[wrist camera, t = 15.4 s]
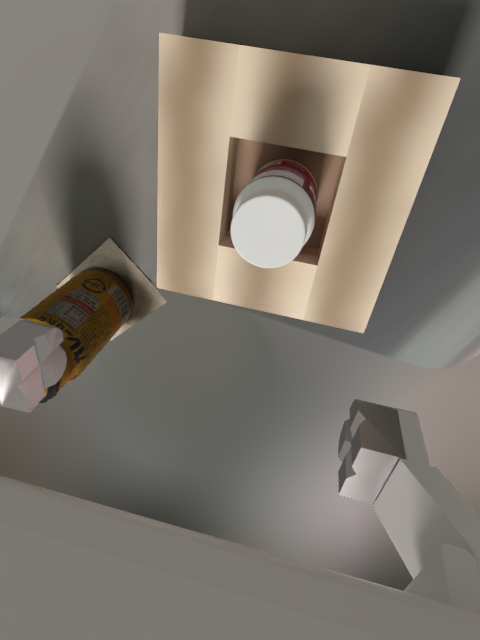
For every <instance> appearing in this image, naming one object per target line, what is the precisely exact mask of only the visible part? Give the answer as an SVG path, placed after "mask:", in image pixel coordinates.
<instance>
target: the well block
mask: <svg viewBox="0 0 480 640" xmlns="http://www.w3.org/2000/svg"><path fill="white" fill-rule="evenodd" d="M460 79H461V78H456V77H449V76H442V75H436V74H429V73H423V72H416V71H409V70H403V69H396V68H389V67H383V66H376V65H370V64H363V63H356V62H350V61H343V60H336V59H330V58H323V57H317V56H310V55H303V54H297V53H290V52H283V51H277V50H270V49H264V48H257V47H250V46H244V45H237V44H230V43H224V42H217V41H211V40H204V39H197V38H191V37H184V36H178V35H171V34H164V33H159V108H158V219H157V288H161V289H165V290H169V291H174V292H179V293H183V294H188V295H192V296H197V297H201V298H206V299H210V300H215V301H219V302H224V303H228V304H233V305H237V306H242V307H247V308H251V309H256V310H260V311H265V312H269V313H274V314H278V315H283V316H287V317H292V318H296V319H301V320H306V321H310V322H315V323H319V324H324V325H328V326H333V327H337V328H342V329H346V330H351V331H356V332H360V333H364V331H365V328H366V326H367V323H368V320H369V318H370V315H371V312H372V310H373V307H374V305H375V302H376V299H377V297H378V294H379V291H380V289H381V286H382V284H383V281H384V278H385V276H386V273H387V270H388V268H389V265H390V263H391V260H392V257H393V255H394V252H395V249H396V247H397V244H398V242H399V239H400V236H401V234H402V231H403V228H404V226H405V223H406V221H407V218H408V215H409V213H410V210H411V208H412V205H413V202H414V200H415V197H416V194H417V192H418V189H419V187H420V184H421V181H422V179H423V176H424V173H425V171H426V168H427V166H428V163H429V160H430V158H431V155H432V152H433V150H434V147H435V145H436V142H437V139H438V137H439V134H440V131H441V129H442V126H443V124H444V121H445V118H446V116H447V113H448V110H449V108H450V105H451V103H452V100H453V97H454V95H455V92H456V89H457V87H458V84H459V82H460ZM279 159H289V160H293V161H296V162H298V163H300V164H302V165H303V166H305V167H306V168H307V169H308V170H309V171H310V172H311V174H312V175H313V177H314V179H315V182H316V185H317V206H316V214H315V215H316V216H315V225H314V228H313V231H312V234H311V236H310V238H309V239H308V241H307V242H306V243H305V245H304V246H303V247H302V249H301V251H300V252H299V254H298V255H297V256H296V257H295V258H294V259H293V260H292V261H291V262H289V263H287V264H285V265H283V266H280V267H277V268H262V267H258V266H255V265H253V264H251V263H249V262H247V261H246V260H245V259H243V258H242V257H241V256H240V255H239V253H238V252H237V251H236V249H235V247H234V245H233V242H232V239H231V233H230V231H231V222H232V218H233V209H234V205H235V202H236V199H237V197H238V195H239V194H240V192H241V191H242V190H243V189H244V187H245V186H246V185H247V184H248V183H249V181H250V180H251V179H252V178H253V176H254V175H255V174H256V173H257V172H258V171H259V170H260V169H261V168H262V167H263V166H264V165H266V164H268V163H269V162H272V161H275V160H279Z"/></svg>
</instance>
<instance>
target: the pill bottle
mask: <svg viewBox="0 0 480 640" xmlns="http://www.w3.org/2000/svg"><path fill="white" fill-rule="evenodd" d="M316 206H317V185H316V182H315V179H314V177H313V175H312V174H311V172H310V171H309V170H308V169H307V168H306V167H305V166H303V165H302V164H300V163H298V162H296V161H293V160H289V159H279V160H275V161H272V162H269V163H268V164H266V165H264V166H263V167H262V168H261V169H260V170H259V171H258V172H257V173H256V174H255V175H254V176H253V178H252V179H251V180H250V181H249V183H248V184H247V185H246V186H245V187H244V189H243V190H242V191H241V192H240V194H239V195H238V197H237V199H236V202H235V205H234V209H233V218H232V222H231V231H230V233H231V239H232V242H233V245H234V247H235V249H236V251H237V252H238V253H239V255H240V256H241V257H242V258H243V259H245V260H246V261H247V262H249V263H251V264H253V265H255V266H258V267H262V268H277V267H280V266H283V265H285V264H287V263H289V262H291V261H292V260H293V259H294V258H295V257H296V256H297V255H298V254H299V252H300V251H301V249H302V247H303V246H304V245H305V243H306V242H307V241H308V239H309V238H310V236H311V234H312V231H313V228H314V225H315V216H316V215H315V214H316Z"/></svg>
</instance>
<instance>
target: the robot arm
mask: <svg viewBox="0 0 480 640" xmlns="http://www.w3.org/2000/svg"><path fill="white" fill-rule="evenodd" d="M63 341H64V339H63V334H62V330H60V329H59V328H57V327H53V326H49V325H46V324H42V323H38V322H34V321H30V320H27V319H21V318H18V317H14V316H10V315H9V316H3V317H2V318H0V406H4V407H8V408H12V409H17V410H21V411H25V412H31V410H32V409H33V408H34V407H35V406H36V405H37V404H38V403H39V402H40V401H41V400H42V398H43V397H44V396H45V388H48V387H50V386H52V385H55V384H56V383H57V382H58V381H59V379H60V378H61V377H62V375H63V373H64V371H65V368H66V363H67V357H66V352H65V351H64V350H63V349H62V347H61V346H60V344H61V343H62V342H63ZM338 457H339V458H340V460H341V461H342V464H341V467H340V469H339V471H338V477H339V478H338V479H339V495H341V496H344V497H348V498H351V499H355V500H358V501H361V502H365V503H368V504H372V505H373V508H374V510H375V511H376V513H377V515H378V517H379V519H380V520H381V522H382V524H383V526H384V527H385V529H386V531H387V533H388V535H389V537H390V538H391V540H392V542H393V544H394V545H395V547H396V549H397V551H398V552H399V554H400V556H401V558H402V559H403V561H404V563H405V565H406V567H407V569H408V570H409V572H410V574H411V576H412V577H413V579H414V580H413V581H412V582H411V583H410V584H409V585H408V587H407V588H406V589H405V590H404V591H401V590H397V589H394V588H390V587H387V586H383V585H380V584H376V583H373V582H369V581H366V580H362V579H359V578H355V577H352V576H348V575H345V574H341V573H338V572H335V571H331V570H328V569H324V568H320V567H317V566H313V565H310V564H307V563H303V562H299V561H296V560H292V559H289V558H286V557H282V556H278V555H275V554H272V553H268V552H265V551H261V550H258V549H254V548H251V547H247V546H244V545H240V544H237V543H233V542H230V541H226V540H222V539H219V538H215V537H212V536H209V535H205V534H202V533H198V532H195V531H191V530H187V529H184V528H180V527H177V526H174V525H170V524H167V523H163V522H159V521H156V520H152V519H149V518H146V517H142V516H139V515H135V514H132V513H128V512H125V511H121V510H118V509H114V508H111V507H107V506H104V505H100V504H97V503H93V502H90V501H86V500H83V499H79V498H76V497H72V496H69V495H65V494H62V493H58V492H55V491H51V490H48V489H44V488H41V487H37V486H34V485H31V484H27V483H23V482H20V481H16V480H13V479H10V478H6V477H3V476H0V640H480V515H479V514H478V513H477V512H476V510H475V509H474V508H473V507H472V506H471V505H470V504H469V503H468V502H467V500H466V499H465V498H464V497H463V496H462V495H461V494H460V493H459V492H458V491H457V490H456V488H455V487H454V486H453V485H452V484H451V483H450V482H449V480H448V479H447V478H446V477H445V476H444V475H443V474H442V473H441V472H440V470H439V469H438V468H436V467H432V466H431V465H430V461H429V457H428V453H427V449H426V445H425V441H424V437H423V434H422V430H421V426H420V422H419V418H418V415H417V414H416V413H415V412H412V411H407V410H403V409H398V408H392V407H388V406H383V405H379V404H375V403H370V402H366V401H362V400H357V399H355V400H354V401H353V403H352V405H351V407H350V419H348V420H346V421H345V422H344V424H343V427H342V430H341V434H340V438H339V447H338Z"/></svg>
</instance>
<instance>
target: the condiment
mask: <svg viewBox="0 0 480 640" xmlns="http://www.w3.org/2000/svg"><path fill="white" fill-rule="evenodd" d="M109 267H110V268H111V269H109ZM113 268H116V269H113ZM56 287H57V288H58V289H57V290H56V291H55V292H54V293H52V294H50V295H49V296H48V297H47V298H45V299H44V300H43V301H42V302H40V303H39V304H38V305H37V306H35V307H34V308H32V309H31V310H30V311H29V312H27V313H26V314H25V315H23V316H21V317H20V318H21V319H27V320H30V321H34V322H38V323H42V324H46V325H49V326H53V327H57V328H59V329H60V330H62V334H63V339H64V341H63V342H62V343H61V344H60V346H61V347H62V349H63V350H64V351H65V352H66V357H67V363H66V368H65V371H64V373H63V375H62V377H61V378H60V379H59V381H58V382H57V383H56V384H55V385H52V386H50V387H48V388H45V396H44V397H43V398H42V400H41V401H40V402H39V403H44V402H46V401H48V400H49V399H52V398H53V397H54V396H56V394H57V392H58V391H59V389H60V388H62V387H63V386H64V385H65V384H66V383H67V382H69V381H72V380H74V379H75V378H76V377H78V376H79V375H80V374H81V373H82V372H83V371H84V370H85V368H86V367H87V366H88V365H89V364H90V363H91V361H92V360H93V359H94V358H95V357H96V355H97V354H98V353H99V352H100V351H101V350H102V349H103V347H104V346H105V345H106V344H107V343H108V341H109V340H112V339H114V338H115V337H117V336H118V335H120V334H121V333H122V332H124V331H125V330H127V329H128V328H130V327H131V326H133V325H134V324H135V323H137V322H138V321H140V320H142V319H143V318H144V317H146V316H147V315H149V314H150V313H151V312H153V311H154V310H156V309H157V308H159V307H160V306H162V305H163V304H165V303H166V300H165V299H164V298H163V297H162V296H161V294H160V293H159V291H158V290H157V289H156V288H155V287H154V286H153V285H152V284H151V283H150V281H149V280H148V279H147V278H146V276H145V275H144V274H143V273H142V272H141V271H140V270H139V269H138V268H137V267H136V265H135V264H134V263H133V262H132V261H131V260H130V259H129V258H128V257H127V256H126V255H125V254H124V252H123V251H122V250H121V249H120V248H119V247H118V246H117V245H116V244H115V243H114V242H113V241H112V240H111V239H110V238H109V239H107V240H106V241H105V242H104V243H103V244H102V245H101V246H100V247H99V248H98V249H96V250H95V251H94V252H93V253H92V254H91V255H90V256H89V257H88V258H87V259H85V260H84V261H83V262H82V263H81V264H80V265H79V266H78V267H77V268H76V269H75V270H73V271H72V272H71V273H70V274H69V275H68V276H67V277H66V278H65V279H64V280H62V281H61V282H60V283H59V284H58V285H57V286H56Z"/></svg>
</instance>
